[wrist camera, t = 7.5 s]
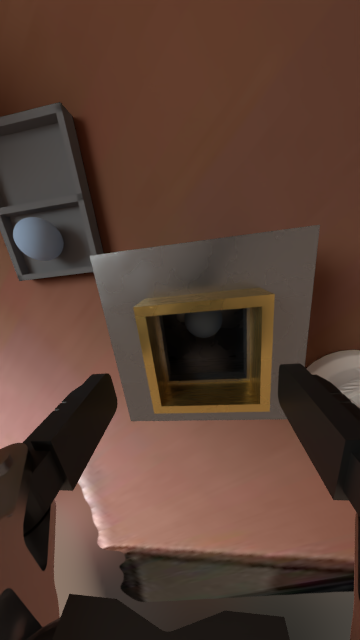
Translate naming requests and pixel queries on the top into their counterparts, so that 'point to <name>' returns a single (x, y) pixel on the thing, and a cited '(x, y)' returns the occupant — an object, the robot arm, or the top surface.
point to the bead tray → (46, 189)
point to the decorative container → (341, 372)
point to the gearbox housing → (231, 339)
